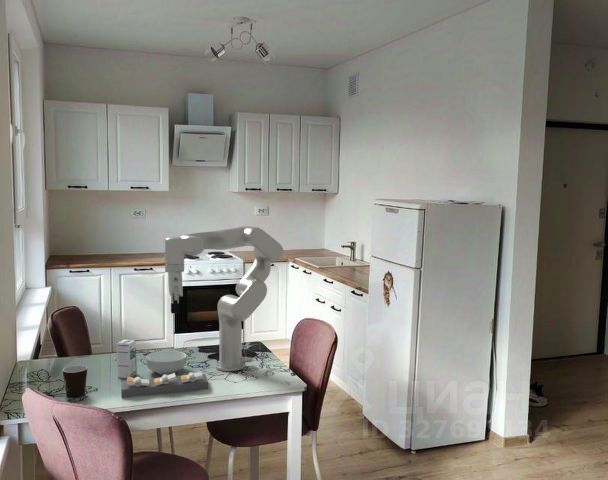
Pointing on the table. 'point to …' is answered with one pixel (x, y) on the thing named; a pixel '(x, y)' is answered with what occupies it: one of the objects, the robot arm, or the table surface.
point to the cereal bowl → (166, 361)
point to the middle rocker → (165, 379)
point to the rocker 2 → (191, 377)
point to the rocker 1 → (137, 381)
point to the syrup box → (126, 358)
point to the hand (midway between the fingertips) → (175, 312)
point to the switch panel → (163, 387)
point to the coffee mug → (75, 380)
